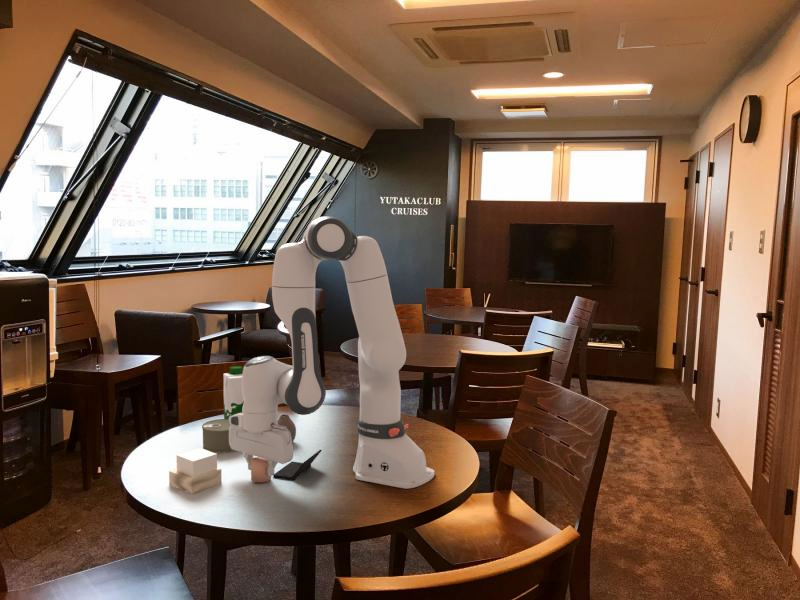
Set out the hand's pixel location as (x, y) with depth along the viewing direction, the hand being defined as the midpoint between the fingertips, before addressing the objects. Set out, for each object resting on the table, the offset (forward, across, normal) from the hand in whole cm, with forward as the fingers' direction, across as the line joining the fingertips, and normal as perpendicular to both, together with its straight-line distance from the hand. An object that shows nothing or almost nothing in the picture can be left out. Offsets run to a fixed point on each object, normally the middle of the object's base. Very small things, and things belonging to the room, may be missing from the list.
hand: (261, 472), depth 163 cm
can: (+2, +28, -12) cm, 31 cm away
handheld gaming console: (+3, -4, -10) cm, 11 cm away
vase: (+3, +16, -25) cm, 30 cm away
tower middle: (-2, +12, +11) cm, 16 cm away
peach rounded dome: (+2, 0, 0) cm, 2 cm away
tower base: (+2, +12, +11) cm, 16 cm away
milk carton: (+2, +38, -26) cm, 46 cm away
